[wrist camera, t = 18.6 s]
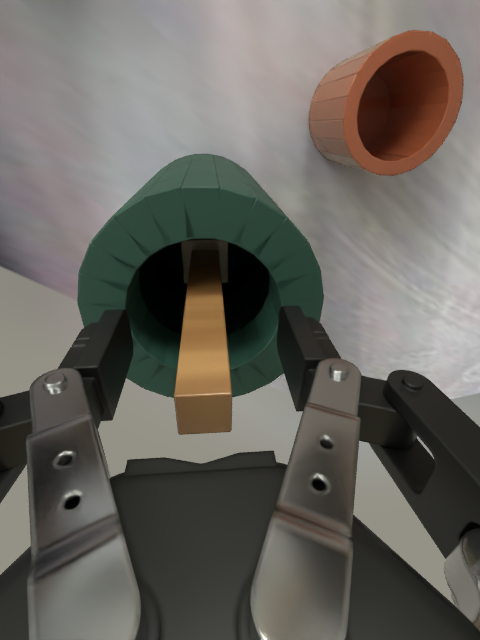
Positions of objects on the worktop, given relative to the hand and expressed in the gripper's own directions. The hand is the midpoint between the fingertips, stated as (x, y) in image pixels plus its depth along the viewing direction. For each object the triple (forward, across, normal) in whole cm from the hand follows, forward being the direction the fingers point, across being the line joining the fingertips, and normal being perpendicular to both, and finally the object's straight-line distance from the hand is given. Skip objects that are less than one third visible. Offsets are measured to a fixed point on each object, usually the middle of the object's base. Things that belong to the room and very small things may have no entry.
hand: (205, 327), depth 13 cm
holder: (+16, -11, -8) cm, 21 cm away
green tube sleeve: (+16, 0, 0) cm, 16 cm away
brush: (+15, 0, 0) cm, 15 cm away
